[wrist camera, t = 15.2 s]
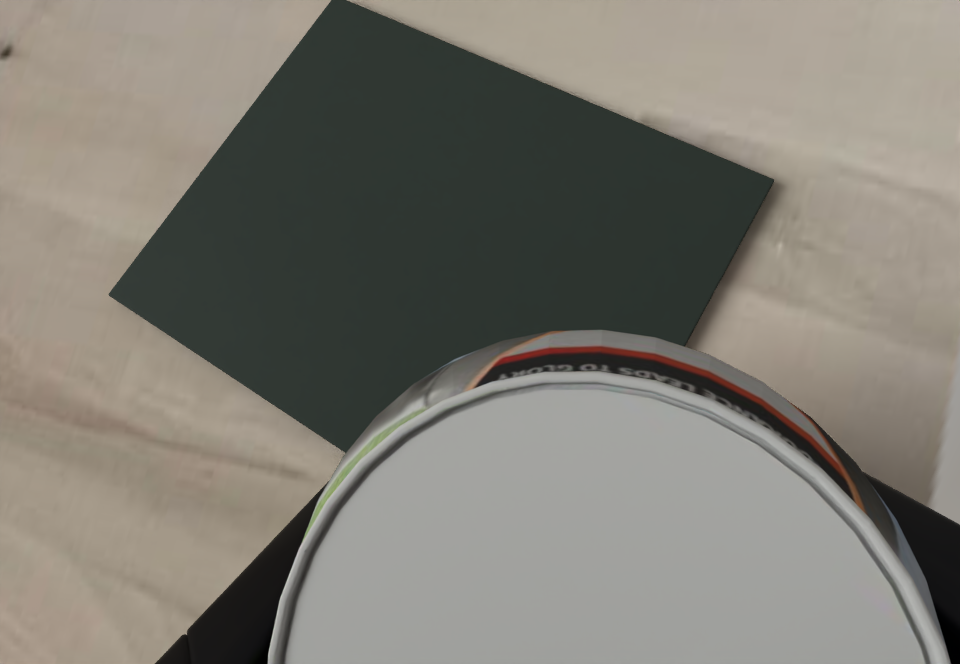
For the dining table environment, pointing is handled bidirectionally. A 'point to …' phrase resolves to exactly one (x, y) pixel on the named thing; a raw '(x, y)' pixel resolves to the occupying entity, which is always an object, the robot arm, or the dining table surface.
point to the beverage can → (601, 523)
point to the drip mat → (426, 224)
